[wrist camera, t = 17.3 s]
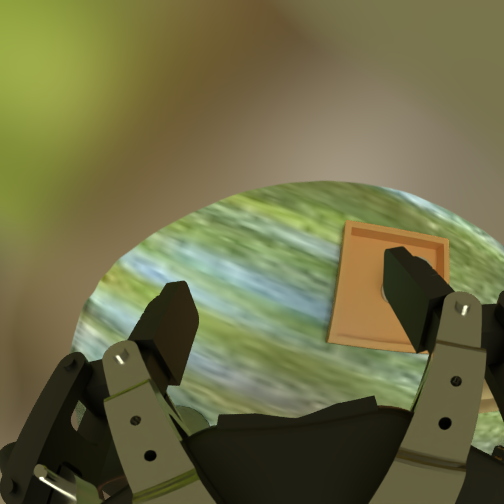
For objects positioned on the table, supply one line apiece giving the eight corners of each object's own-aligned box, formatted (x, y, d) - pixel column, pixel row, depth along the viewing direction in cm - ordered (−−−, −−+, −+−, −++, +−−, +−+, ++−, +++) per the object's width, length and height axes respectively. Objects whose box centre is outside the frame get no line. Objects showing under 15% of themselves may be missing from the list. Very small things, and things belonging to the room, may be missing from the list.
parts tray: (431, 354, 33) (442, 354, 29) (325, 342, 37) (328, 342, 34) (438, 247, 38) (448, 239, 35) (342, 230, 43) (345, 219, 39)
